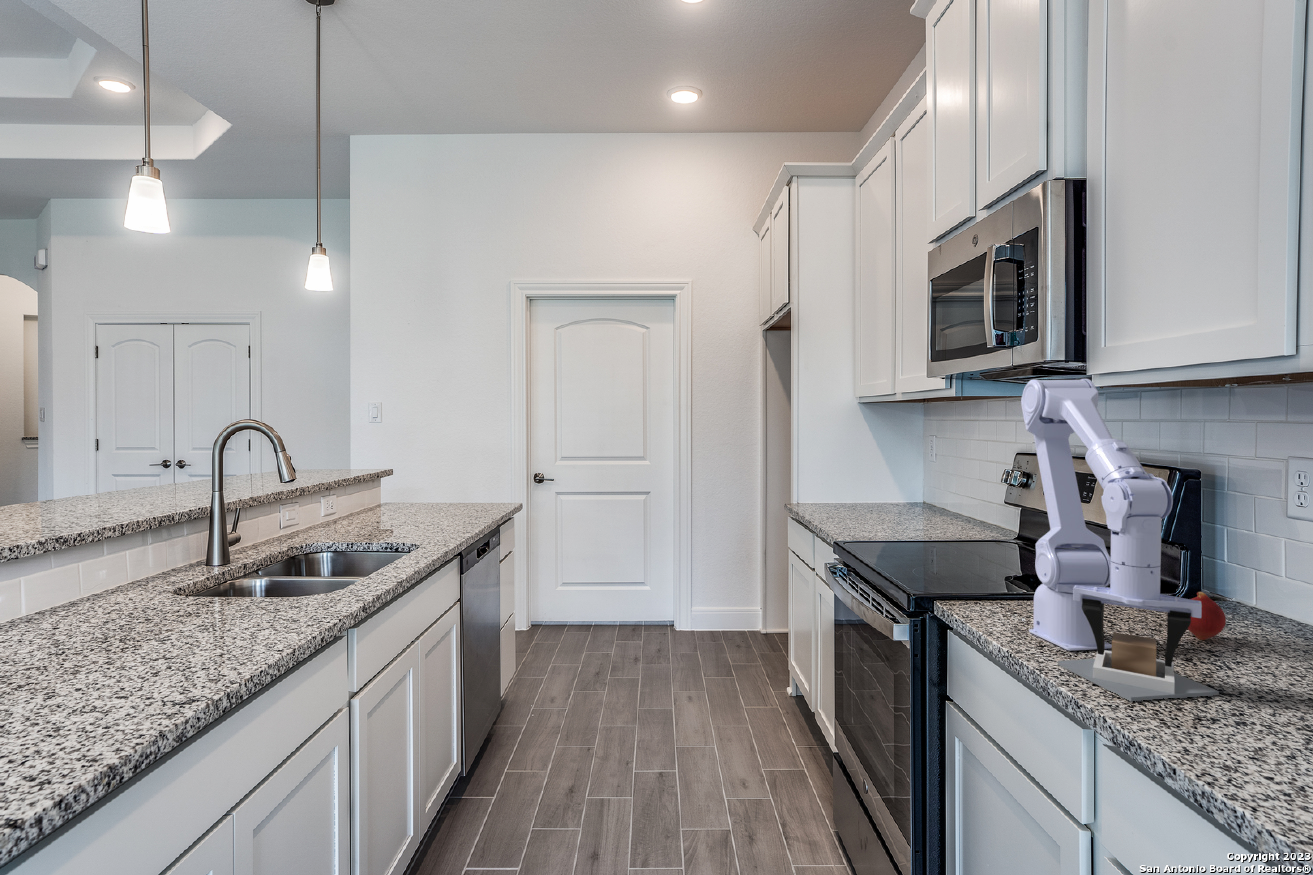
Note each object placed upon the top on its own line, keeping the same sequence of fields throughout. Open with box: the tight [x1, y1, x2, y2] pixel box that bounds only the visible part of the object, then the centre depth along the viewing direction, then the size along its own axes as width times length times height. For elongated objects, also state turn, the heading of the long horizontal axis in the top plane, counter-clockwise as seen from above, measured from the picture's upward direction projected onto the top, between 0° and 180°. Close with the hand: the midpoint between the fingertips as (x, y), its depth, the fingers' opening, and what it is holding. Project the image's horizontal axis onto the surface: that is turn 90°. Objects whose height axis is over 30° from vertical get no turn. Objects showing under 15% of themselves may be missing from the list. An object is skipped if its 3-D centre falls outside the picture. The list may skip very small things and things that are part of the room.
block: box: [1111, 631, 1157, 677], centre depth 93 cm, size 5×5×5 cm
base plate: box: [1057, 649, 1220, 703], centre depth 93 cm, size 13×13×2 cm
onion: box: [1187, 591, 1227, 641], centre depth 109 cm, size 6×6×8 cm
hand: (1133, 658), depth 93 cm, fingers open, 7 cm apart
